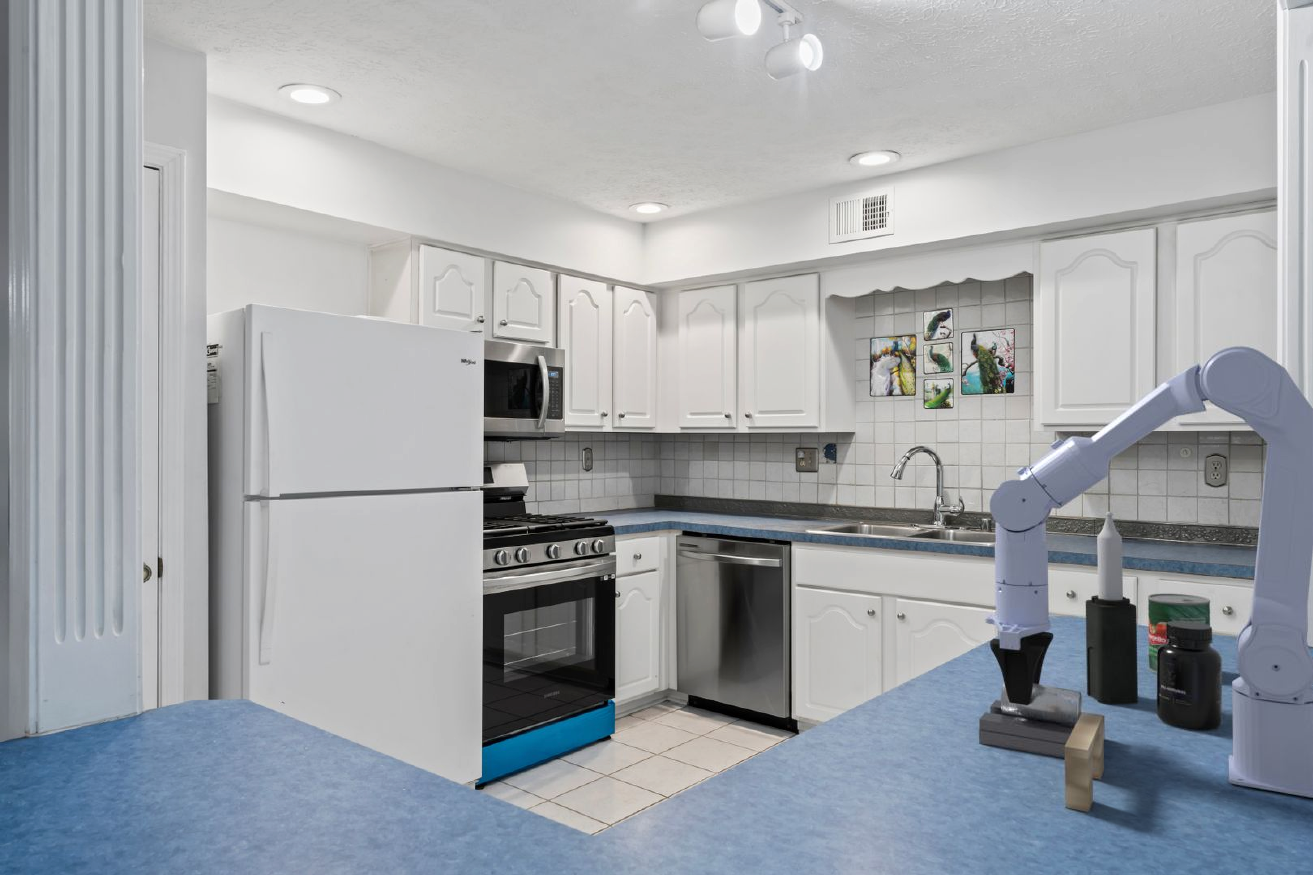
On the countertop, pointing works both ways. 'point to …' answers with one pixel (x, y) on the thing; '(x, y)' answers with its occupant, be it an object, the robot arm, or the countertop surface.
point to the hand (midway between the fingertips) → (1023, 698)
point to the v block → (1024, 732)
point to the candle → (1111, 627)
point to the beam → (1083, 761)
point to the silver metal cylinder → (1047, 705)
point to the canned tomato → (1172, 617)
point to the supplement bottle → (1189, 678)
